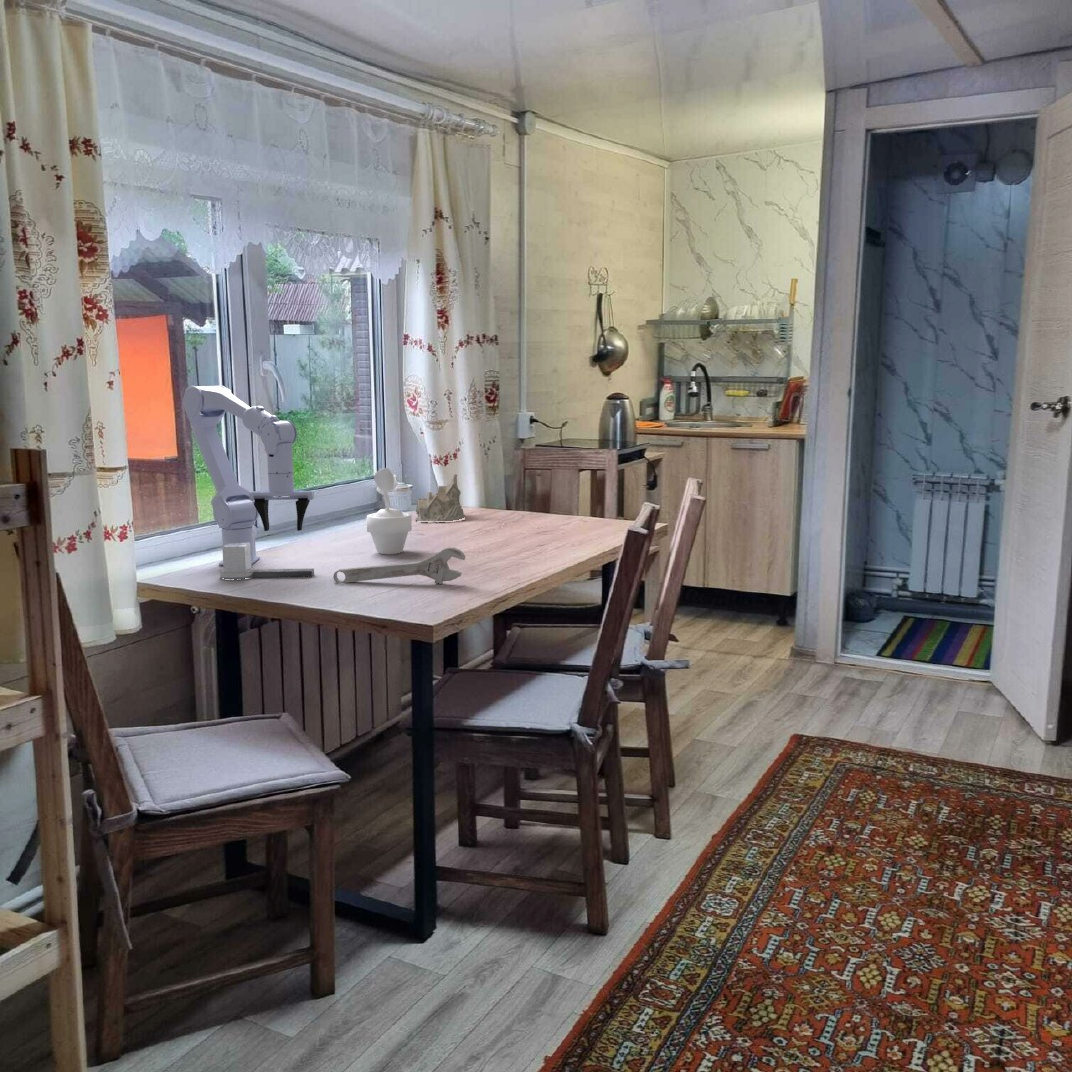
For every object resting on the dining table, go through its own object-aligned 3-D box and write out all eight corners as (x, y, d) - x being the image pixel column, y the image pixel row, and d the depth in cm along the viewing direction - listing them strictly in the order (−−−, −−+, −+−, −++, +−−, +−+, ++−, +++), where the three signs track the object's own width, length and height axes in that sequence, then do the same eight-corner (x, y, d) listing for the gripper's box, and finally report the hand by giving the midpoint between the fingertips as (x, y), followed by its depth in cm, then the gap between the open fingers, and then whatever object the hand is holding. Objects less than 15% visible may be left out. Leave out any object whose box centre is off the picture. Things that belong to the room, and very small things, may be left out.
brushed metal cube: (229, 568, 234) (228, 543, 233) (251, 568, 234) (250, 542, 233) (223, 572, 229) (222, 546, 228) (246, 572, 229) (244, 546, 228)
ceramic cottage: (464, 514, 326) (461, 468, 323) (466, 524, 310) (462, 476, 307) (416, 518, 325) (412, 472, 322) (415, 528, 309) (411, 480, 306)
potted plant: (404, 557, 254) (401, 458, 250) (360, 555, 257) (357, 457, 253) (420, 548, 267) (418, 453, 262) (378, 547, 269) (375, 453, 265)
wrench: (338, 593, 227) (468, 581, 224) (335, 595, 226) (467, 583, 222) (333, 558, 226) (464, 545, 222) (330, 560, 224) (462, 547, 221)
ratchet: (225, 573, 236) (224, 552, 235) (316, 572, 236) (315, 551, 236) (216, 580, 228) (214, 559, 227) (310, 579, 229) (309, 558, 228)
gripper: (245, 474, 232) (248, 533, 234) (308, 474, 233) (311, 532, 235) (252, 471, 239) (255, 528, 241) (314, 471, 240) (316, 527, 242)
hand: (283, 530), depth 238 cm, fingers open, 7 cm apart
